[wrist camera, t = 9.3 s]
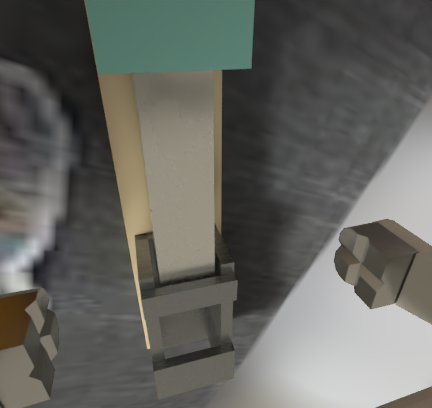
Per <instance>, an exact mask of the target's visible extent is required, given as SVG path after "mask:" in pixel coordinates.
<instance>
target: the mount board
mask: <svg viewBox="0 0 432 408" xmlns="http://www.w3.org/2000/svg"><path fill="white" fill-rule="evenodd" d="M84 2H85V0H84ZM85 8H86V3H85ZM86 13H87V8H86ZM87 19H88V14H87ZM88 24H89V19H88ZM89 30H90V25H89ZM90 35H91V31H90ZM91 41H92V36H91ZM92 46H93V42H92ZM93 52H94V47H93ZM94 57H95V53H94ZM95 63H96V58H95ZM96 68H97V64H96ZM97 74H98V69H97ZM98 79H99V85H100V90H101V96H102V101H103V107H104V112H105V118H106V123H107V129H108V134H109V140H110V145H111V151H112V156H113V162H114V167H115V173H116V178H117V184H118V190H119V195H120V201H121V206H122V212H123V217H124V223H125V228H126V234H127V239H128V245H129V250H130V256H131V261H132V267H133V272H134V278H135V283H136V289H137V294H138V300H139V305H140V311H141V316H142V322H143V327H144V333H145V338H146V344H147V349H150V344H149V338H148V333H147V327H146V321H145V319H144V314H143V308H142V302H141V294H140V287H139V281H138V270H137V258H136V246H135V235H140V234H146V233H152V227H151V220H150V212H149V204H148V197H147V189H146V181H145V174H144V166H143V158H142V151H141V143H140V135H139V128H138V120H137V112H136V105H135V97H134V89H133V82H132V74H131V73H123V74H98ZM213 109H214V223H215V224H216V226H217V228H218V230H219V232H220V234H221V175H222V70H213Z"/></svg>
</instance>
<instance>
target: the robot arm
mask: <svg viewBox="0 0 432 408" xmlns="http://www.w3.org/2000/svg"><path fill="white" fill-rule="evenodd" d="M339 241H340V243H341V246H340V247H339V248H338V250H337V251H336V253H335V258H334V263H335V267H336V270H337V272H338V274H339V276H340V277H341V278H342V279H343V280H344V281H345V282H347V283H349V284H351V285H353V286H354V289H355V293H356V294H357V295H358V296H359V297H360V298H361V299H362V301H364V303H365V304H366V305H367V306H368V307H369V308H370V309H374V308H378V307H382V306H386V305H390V304H394V303H396V305H398V306H399V307H401V308H403V309H405V310H407V311H408V312H410V313H412V314H414V315H416V316H418V317H419V318H421V319H423V320H425V321H427V322H428V323H430V324H432V246H431V245H429V244H427V243H426V242H425V241H423V240H422V239H420V238H419V237H417V236H416V235H414V234H413V233H411V232H410V231H408V230H407V229H405V228H404V227H402V226H401V225H399V224H398V223H396V222H395V221H393V220H389V219H385V220H380V221H376V222H372V223H368V224H363V225H359V226H353V227H348V228H344V229H343V230H342V231H341V233H340V236H339ZM48 303H49V298H48V295H47V293H46V291H45V289H43V288H36V289H30V290H25V291H19V292H13V293H8V294H2V295H0V408H22V407H25V406H29V405H32V404H35V403H39V402H42V401H45V400H48V399H50V396H51V390H52V384H53V378H54V372H55V370H54V367H53V365H52V363H51V360H52V359H53V357H54V356H55V355H56V354H57V353H58V346H59V327H58V322H57V318H56V316H55V313H54V312H52V311H50V310H48V309H47V308H48ZM376 408H432V387H429V388H427V389H424V390H421V391H418V392H416V393H413V394H410V395H408V396H405V397H403V398H400V399H397V400H395V401H392V402H389V403H387V404H384V405H381V406H379V407H376Z"/></svg>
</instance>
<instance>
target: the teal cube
mask: <svg viewBox="0 0 432 408" xmlns="http://www.w3.org/2000/svg"><path fill="white" fill-rule="evenodd" d="M85 3H86V8H87V14H88V19H89V25H90V31H91V36H92V42H93V47H94V53H95V58H96V64H97V69H98V74H123V73H149V72H176V71H203V70H229V69H251V67H252V46H253V26H254V6H255V0H85Z"/></svg>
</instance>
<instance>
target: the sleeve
mask: <svg viewBox="0 0 432 408" xmlns="http://www.w3.org/2000/svg"><path fill="white" fill-rule="evenodd" d="M214 235H215V277H210V278H205V279H200V280H195V281H190V282H185V283H180V284H175V285H170V286H165V287H159V280H158V273H157V266H156V258H155V250H154V243H153V235H152V233H146V234H140V235H135V246H136V258H137V270H138V281H139V287H140V294H141V302H142V308H143V314H144V319H145V321H146V327H147V333H148V338H149V344H150V350H151V356H152V361H153V370H154V376H155V382H156V388H157V394H158V399H162V398H165V397H169V396H172V395H176V394H179V393H183V392H186V391H190V390H194V389H197V388H201V387H204V386H208V385H211V384H215V383H218V382H222V381H225V380H229V379H232V378H234V357H235V350H234V347H233V344H232V322H233V301H234V300H237V285H238V280H237V278H236V276H235V273H234V260H233V258H232V256H231V254H230V252H229V250H228V248H227V246H226V244H225V242H224V240H223V238H222V236H221V234H220V232H219V230H218V228H217V226H216V224H215V223H214ZM207 338H209V342H210V345H211V348H208V349H204V350H200V351H196V352H192V353H188V354H184V355H180V356H176V357H172V358H168V359H165V356H164V349H166V348H170V347H174V346H178V345H182V344H186V343H190V342H194V341H198V340H202V339H207Z"/></svg>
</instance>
